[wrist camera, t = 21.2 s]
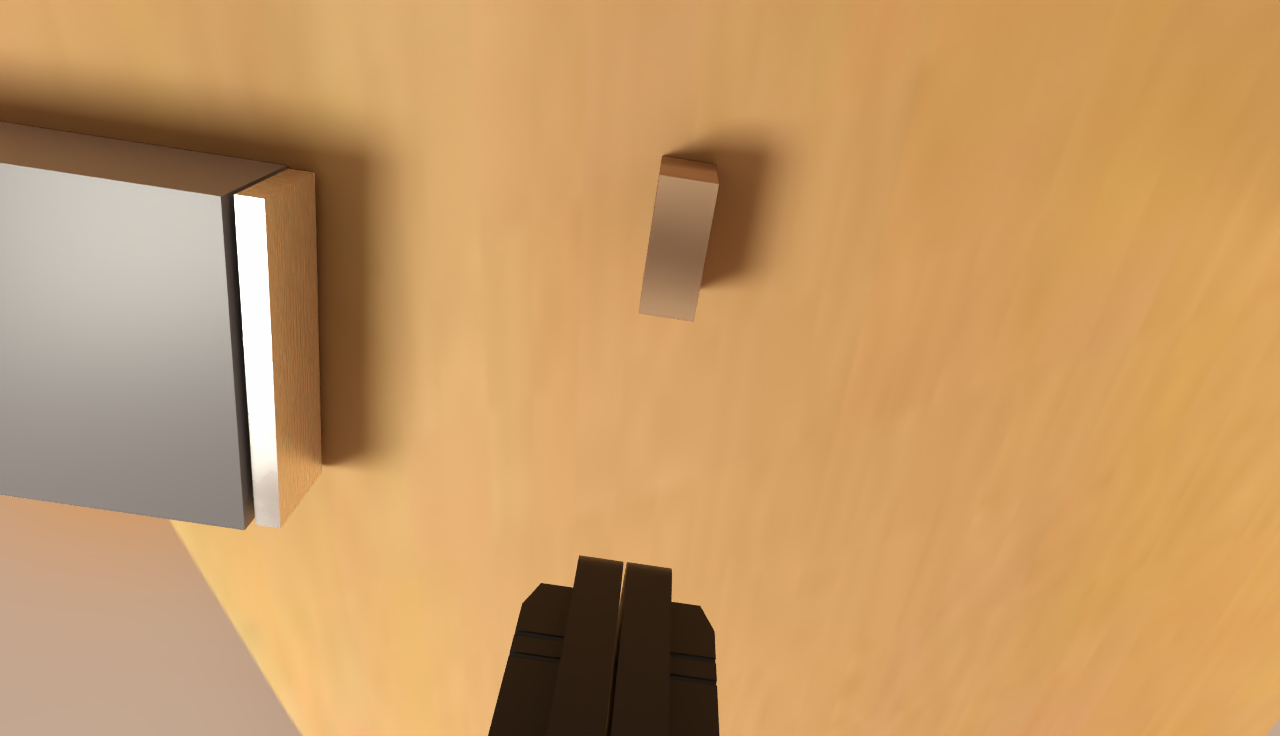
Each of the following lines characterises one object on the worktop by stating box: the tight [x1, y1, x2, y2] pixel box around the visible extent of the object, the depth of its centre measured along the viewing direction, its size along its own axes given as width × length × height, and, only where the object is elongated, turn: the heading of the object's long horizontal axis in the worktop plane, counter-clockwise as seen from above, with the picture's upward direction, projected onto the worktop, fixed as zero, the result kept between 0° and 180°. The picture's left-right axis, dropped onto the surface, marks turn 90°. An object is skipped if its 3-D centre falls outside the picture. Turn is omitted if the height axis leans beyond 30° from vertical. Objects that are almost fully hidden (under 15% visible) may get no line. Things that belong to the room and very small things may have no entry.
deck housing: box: [0, 121, 287, 530], centre depth 39 cm, size 16×16×6 cm
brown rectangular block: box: [639, 156, 719, 322], centre depth 37 cm, size 6×2×4 cm, turn 172°
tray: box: [234, 169, 322, 528], centre depth 39 cm, size 16×16×5 cm
